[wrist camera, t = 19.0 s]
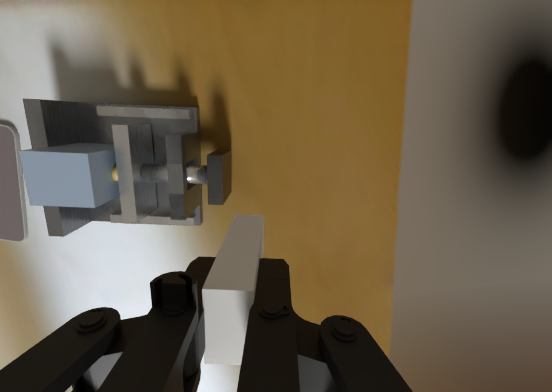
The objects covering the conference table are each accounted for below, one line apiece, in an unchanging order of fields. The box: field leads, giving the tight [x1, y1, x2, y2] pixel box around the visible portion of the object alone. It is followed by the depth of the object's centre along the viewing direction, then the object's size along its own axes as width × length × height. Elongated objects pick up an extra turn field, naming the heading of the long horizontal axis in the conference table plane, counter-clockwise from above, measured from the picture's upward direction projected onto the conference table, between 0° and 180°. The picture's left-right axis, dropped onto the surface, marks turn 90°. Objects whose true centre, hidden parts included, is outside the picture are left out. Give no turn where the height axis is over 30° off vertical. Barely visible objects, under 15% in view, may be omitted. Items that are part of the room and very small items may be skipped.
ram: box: [112, 123, 231, 224], centre depth 30 cm, size 10×10×5 cm
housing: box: [19, 143, 120, 208], centre depth 29 cm, size 5×7×8 cm
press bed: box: [23, 99, 203, 237], centre depth 31 cm, size 14×15×7 cm
